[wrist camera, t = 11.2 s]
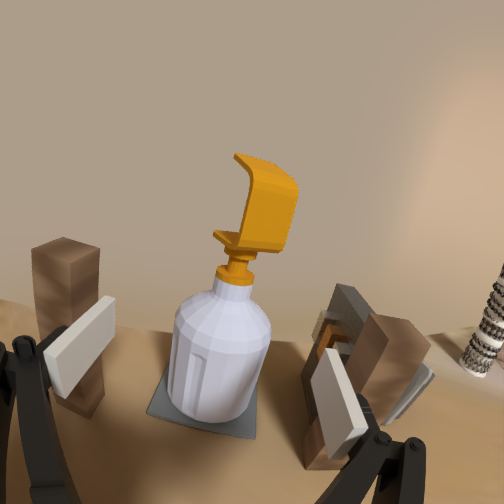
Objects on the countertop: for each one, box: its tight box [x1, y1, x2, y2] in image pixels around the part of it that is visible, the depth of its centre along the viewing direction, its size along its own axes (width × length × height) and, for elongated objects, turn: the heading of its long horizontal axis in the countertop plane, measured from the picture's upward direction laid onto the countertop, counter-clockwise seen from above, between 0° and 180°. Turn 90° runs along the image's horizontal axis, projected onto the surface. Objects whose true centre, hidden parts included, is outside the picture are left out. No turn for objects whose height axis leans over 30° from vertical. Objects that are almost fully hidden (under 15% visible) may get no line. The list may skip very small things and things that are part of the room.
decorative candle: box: [459, 264, 504, 378], centre depth 39 cm, size 9×9×25 cm
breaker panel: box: [301, 283, 375, 427], centre depth 28 cm, size 4×12×14 cm, turn 178°
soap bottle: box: [167, 153, 298, 423], centre depth 24 cm, size 9×9×25 cm
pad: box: [147, 362, 257, 439], centre depth 27 cm, size 11×10×1 cm
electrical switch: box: [381, 361, 435, 425], centre depth 30 cm, size 9×5×9 cm, turn 11°
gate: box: [31, 237, 431, 470], centre depth 19 cm, size 29×4×16 cm, turn 88°
